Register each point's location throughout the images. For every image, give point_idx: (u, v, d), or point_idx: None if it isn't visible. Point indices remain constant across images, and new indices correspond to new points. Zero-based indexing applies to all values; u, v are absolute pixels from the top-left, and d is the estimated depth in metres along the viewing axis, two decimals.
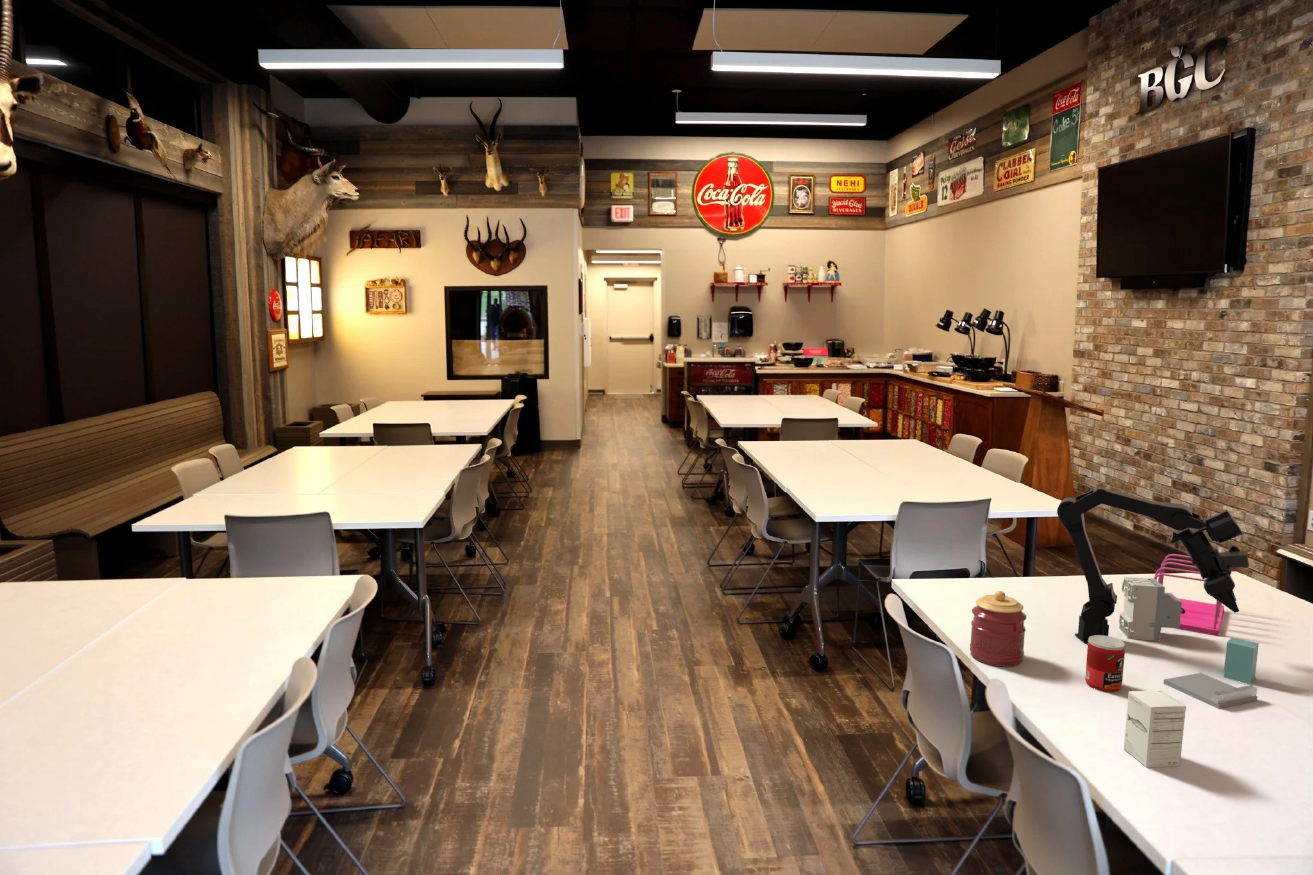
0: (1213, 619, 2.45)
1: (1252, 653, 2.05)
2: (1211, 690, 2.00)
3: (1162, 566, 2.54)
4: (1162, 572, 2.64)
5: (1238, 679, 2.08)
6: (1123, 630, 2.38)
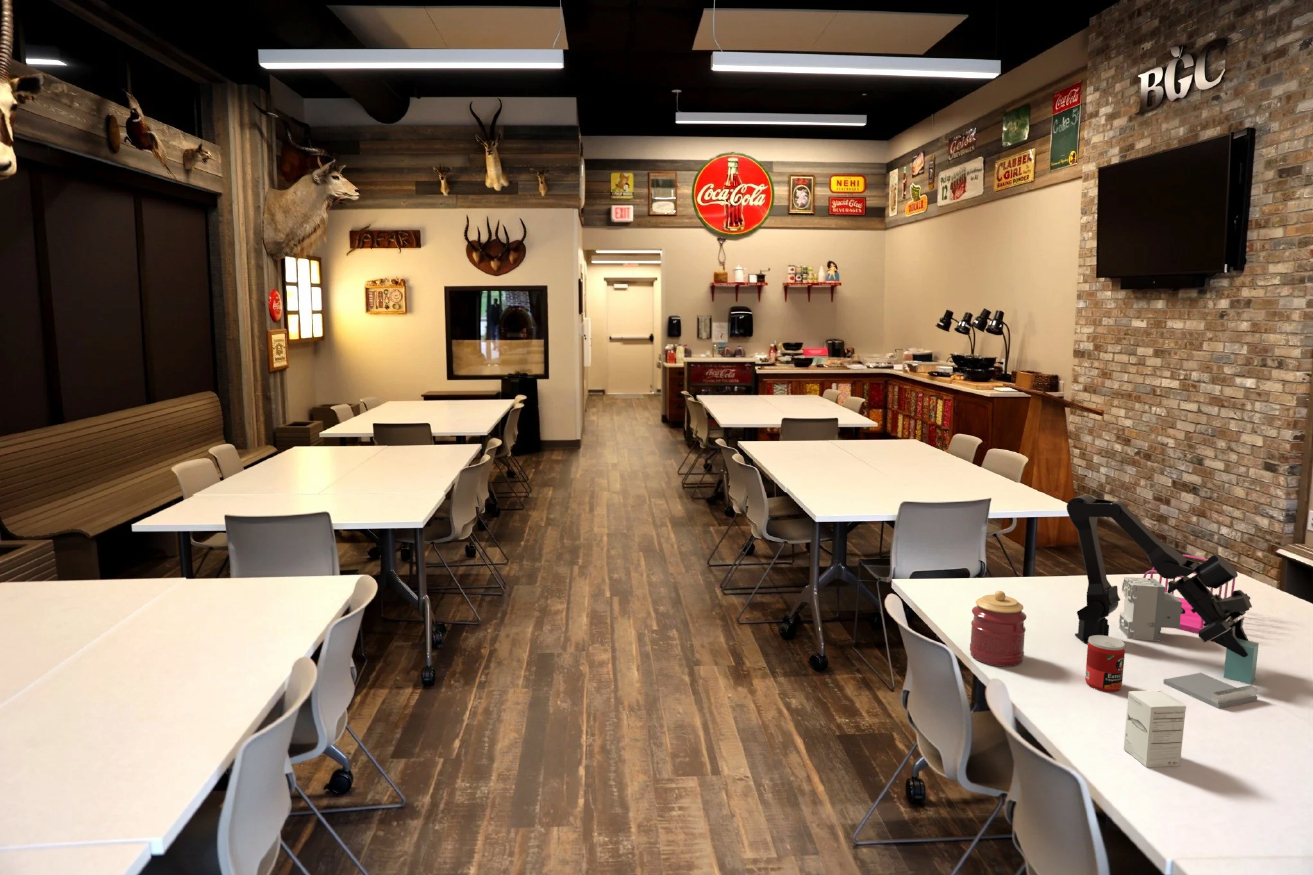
0: None
1: (1252, 653, 2.05)
2: (1211, 690, 2.00)
3: None
4: None
5: (1238, 679, 2.08)
6: (1123, 630, 2.38)
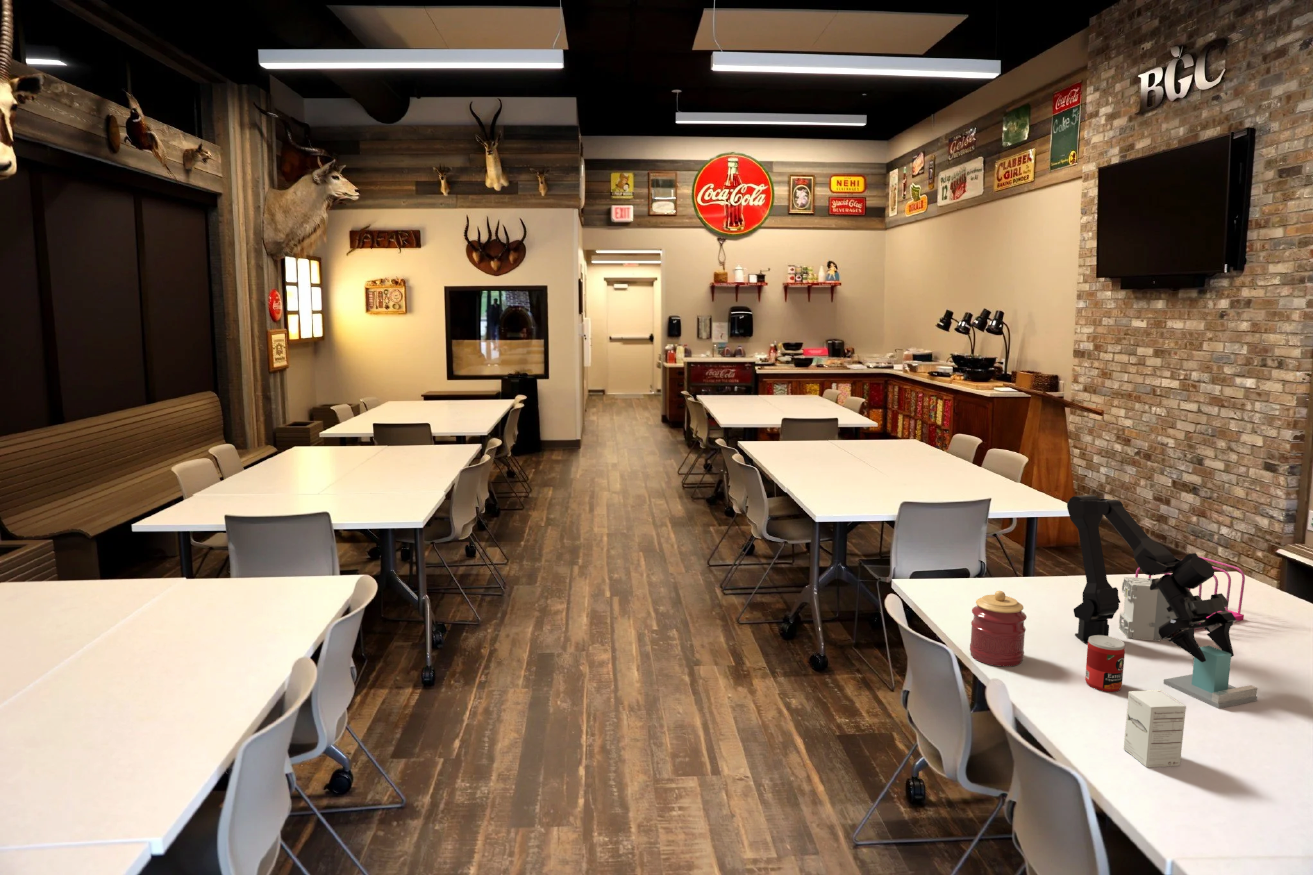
0: None
1: (1215, 661, 1.97)
2: None
3: None
4: None
5: (1203, 687, 2.00)
6: (1123, 630, 2.38)
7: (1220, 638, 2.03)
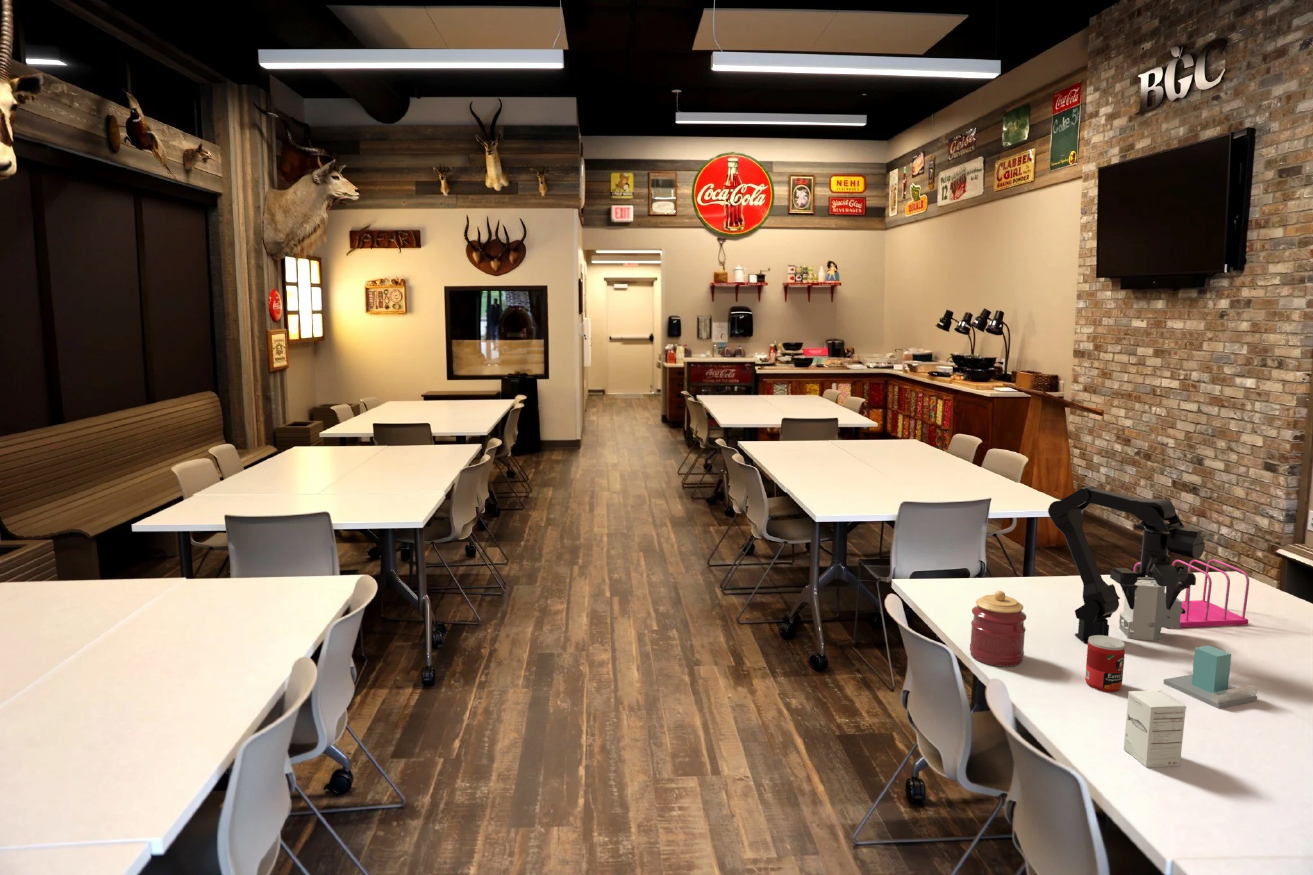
0: (1193, 619, 2.45)
1: (1215, 661, 1.97)
2: None
3: (1173, 563, 2.57)
4: (1205, 576, 2.60)
5: (1203, 687, 2.00)
6: (1123, 630, 2.38)
7: (1170, 591, 2.19)
